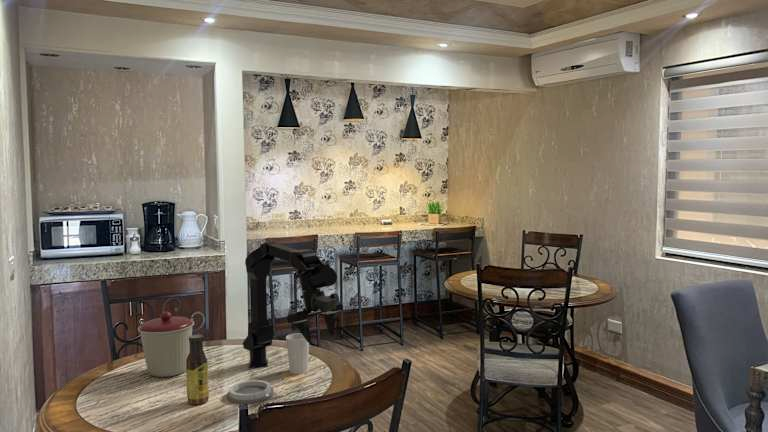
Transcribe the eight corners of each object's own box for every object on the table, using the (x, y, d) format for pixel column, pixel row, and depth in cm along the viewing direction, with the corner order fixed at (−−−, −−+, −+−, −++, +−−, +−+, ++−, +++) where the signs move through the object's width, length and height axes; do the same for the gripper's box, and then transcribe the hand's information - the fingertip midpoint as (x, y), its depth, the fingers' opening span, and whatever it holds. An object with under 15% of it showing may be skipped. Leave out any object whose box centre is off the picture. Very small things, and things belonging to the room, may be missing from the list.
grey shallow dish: (229, 388, 188) (228, 381, 188) (274, 384, 190) (273, 377, 190) (224, 405, 174) (224, 398, 174) (273, 401, 176) (272, 394, 176)
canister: (128, 378, 199) (124, 316, 198) (167, 361, 216) (163, 304, 214) (171, 384, 193) (167, 320, 191) (207, 366, 209) (204, 307, 208)
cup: (288, 367, 206) (286, 333, 205) (311, 366, 207) (310, 332, 206) (286, 375, 198) (284, 340, 197) (310, 374, 199) (309, 339, 198)
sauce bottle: (202, 406, 174) (199, 340, 172) (183, 405, 175) (179, 339, 174) (213, 397, 181) (210, 333, 179) (194, 396, 182) (191, 333, 180)
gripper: (303, 291, 175) (314, 344, 173) (349, 281, 188) (359, 330, 187) (281, 296, 182) (291, 347, 181) (327, 286, 196) (336, 333, 194)
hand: (321, 339), depth 185 cm, fingers open, 9 cm apart
